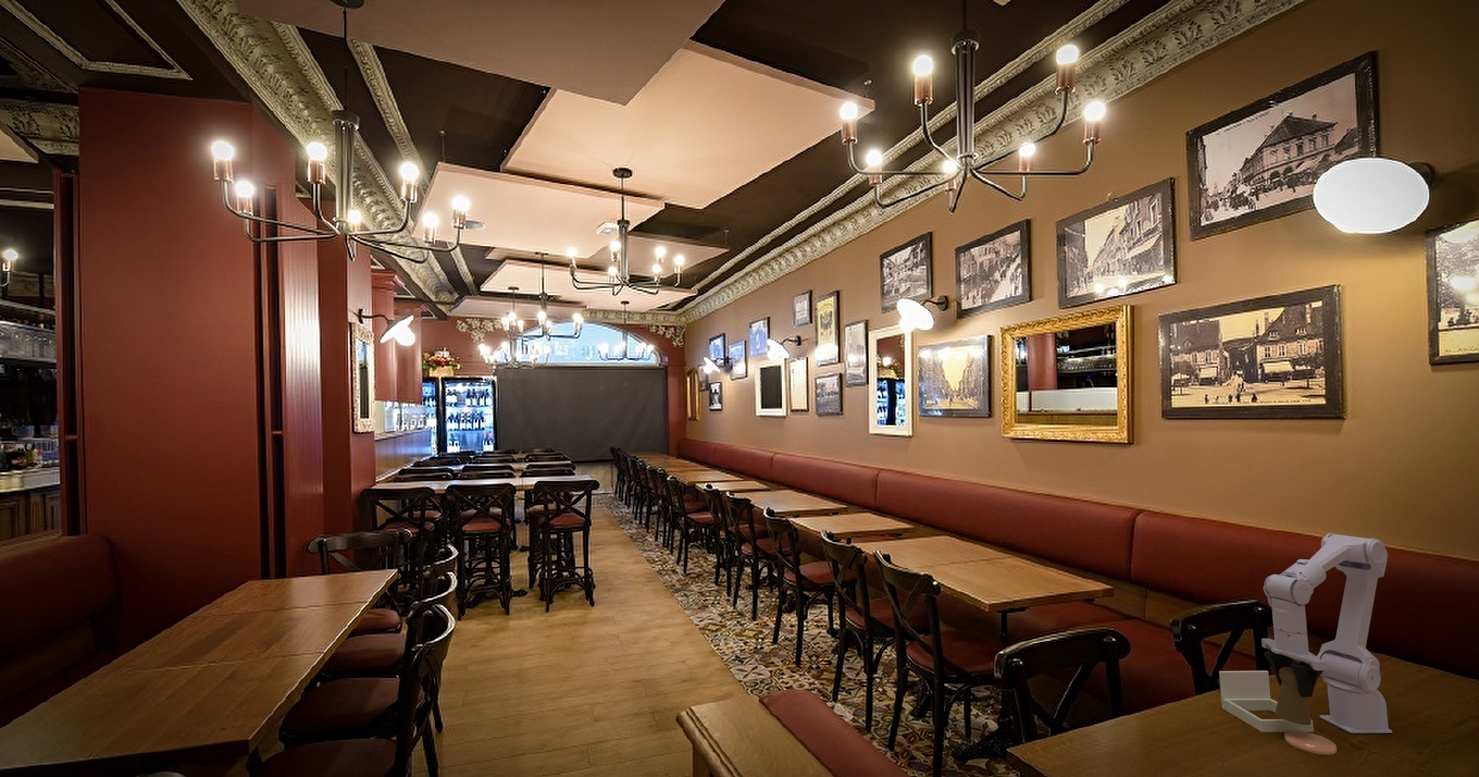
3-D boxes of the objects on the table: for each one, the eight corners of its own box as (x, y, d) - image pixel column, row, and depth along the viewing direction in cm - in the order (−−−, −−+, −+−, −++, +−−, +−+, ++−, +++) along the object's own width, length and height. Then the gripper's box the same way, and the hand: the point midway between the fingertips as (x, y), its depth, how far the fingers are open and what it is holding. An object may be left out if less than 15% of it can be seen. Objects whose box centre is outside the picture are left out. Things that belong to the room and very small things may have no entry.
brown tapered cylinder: (1318, 727, 134) (1319, 676, 135) (1286, 721, 135) (1287, 671, 136) (1299, 714, 140) (1300, 666, 140) (1268, 709, 141) (1270, 661, 142)
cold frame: (1269, 707, 152) (1266, 670, 153) (1313, 731, 140) (1310, 691, 140) (1222, 707, 152) (1219, 671, 153) (1262, 731, 140) (1258, 691, 141)
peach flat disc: (1312, 734, 138) (1312, 730, 138) (1348, 754, 130) (1347, 749, 130) (1274, 735, 139) (1274, 730, 139) (1307, 754, 130) (1307, 749, 130)
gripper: (1246, 619, 146) (1251, 677, 145) (1299, 640, 132) (1304, 705, 131) (1277, 619, 146) (1282, 677, 145) (1333, 640, 131) (1339, 705, 130)
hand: (1295, 690), depth 138 cm, fingers closed on brown tapered cylinder, 5 cm apart
